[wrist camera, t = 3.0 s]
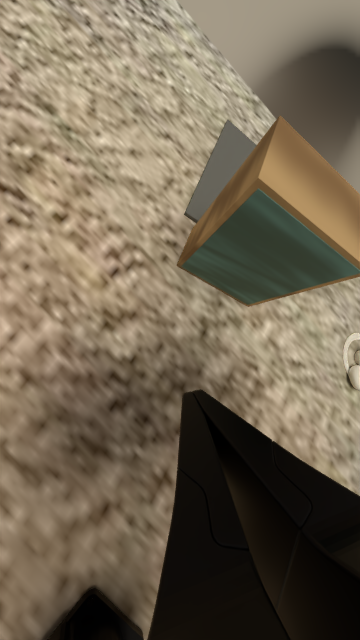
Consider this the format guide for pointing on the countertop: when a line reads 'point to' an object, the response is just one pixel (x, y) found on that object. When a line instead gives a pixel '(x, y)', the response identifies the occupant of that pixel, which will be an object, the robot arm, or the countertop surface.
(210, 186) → the mat
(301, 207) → the tan and teal block
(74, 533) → the countertop surface
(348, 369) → the teacup and saucer
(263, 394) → the countertop surface
